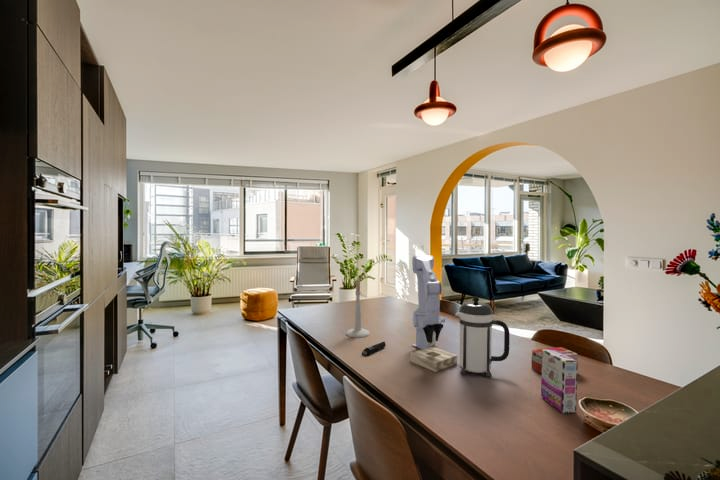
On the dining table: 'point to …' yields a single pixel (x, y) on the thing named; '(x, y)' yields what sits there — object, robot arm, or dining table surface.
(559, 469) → the dining table surface
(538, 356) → the medicine box
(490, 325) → the coffee press
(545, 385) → the candy bar box
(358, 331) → the candlestick
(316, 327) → the dining table surface
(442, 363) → the socket block
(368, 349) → the electric trimmer
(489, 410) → the dining table surface
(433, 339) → the peg
